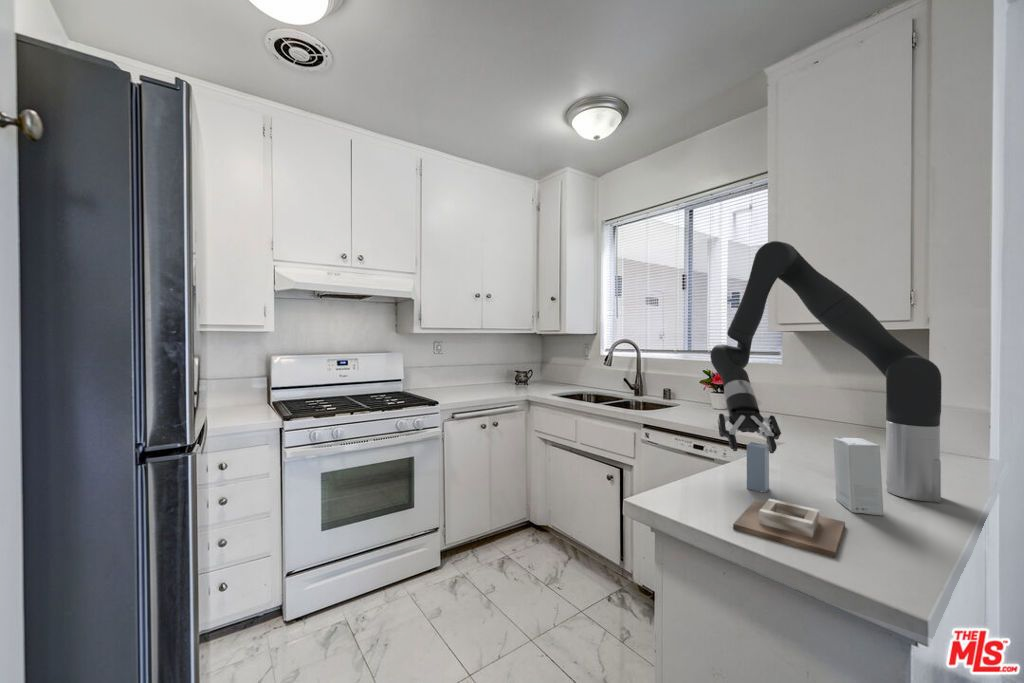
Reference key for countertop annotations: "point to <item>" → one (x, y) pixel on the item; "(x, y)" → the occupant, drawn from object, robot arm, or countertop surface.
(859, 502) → the skincare box
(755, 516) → the socket board
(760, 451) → the plug
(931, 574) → the countertop surface
